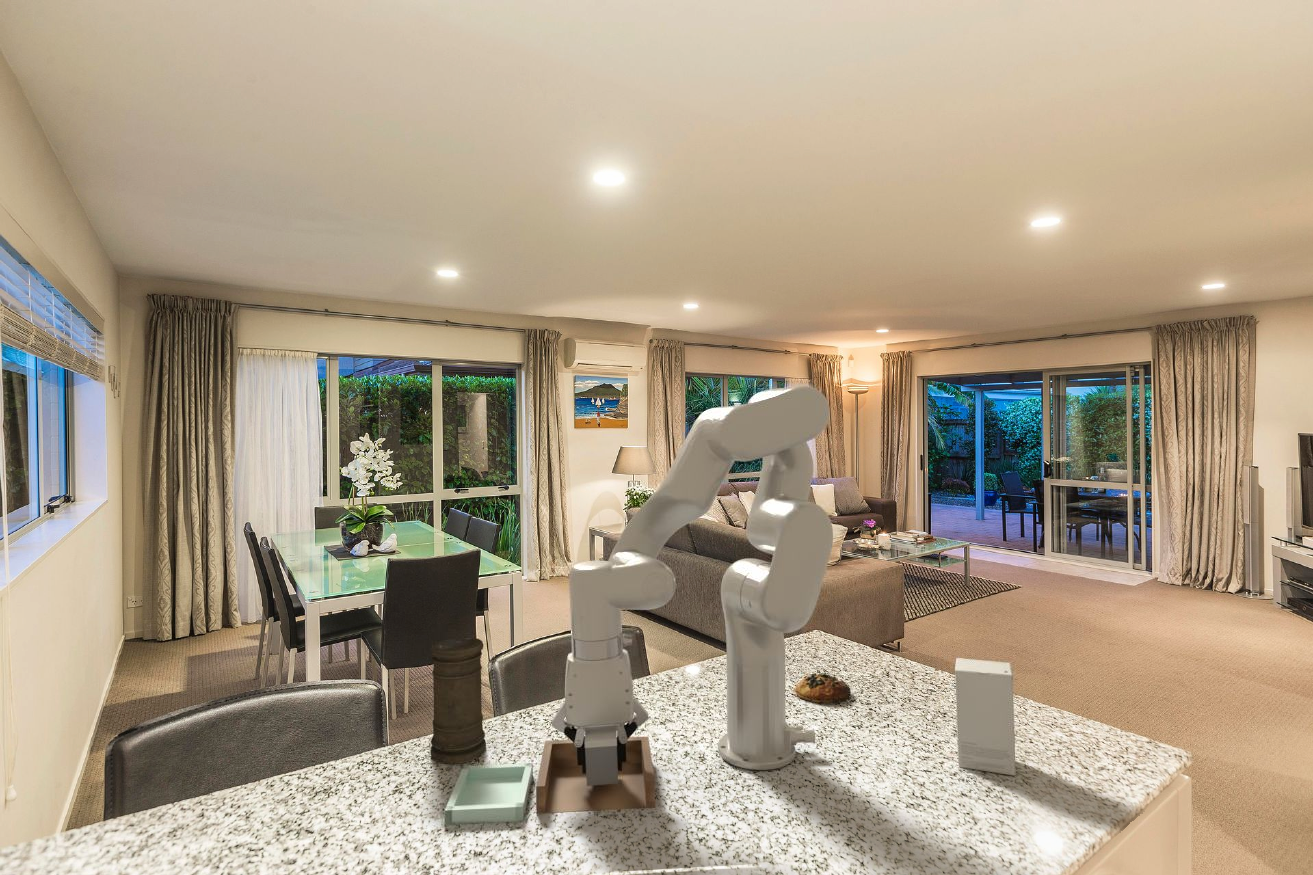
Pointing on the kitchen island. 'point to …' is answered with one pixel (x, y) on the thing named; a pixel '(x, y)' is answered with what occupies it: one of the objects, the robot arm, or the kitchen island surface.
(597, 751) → the off-white upright block
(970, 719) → the skincare box
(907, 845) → the kitchen island surface
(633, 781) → the bay
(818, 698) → the bread roll
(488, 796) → the tray
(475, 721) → the container
